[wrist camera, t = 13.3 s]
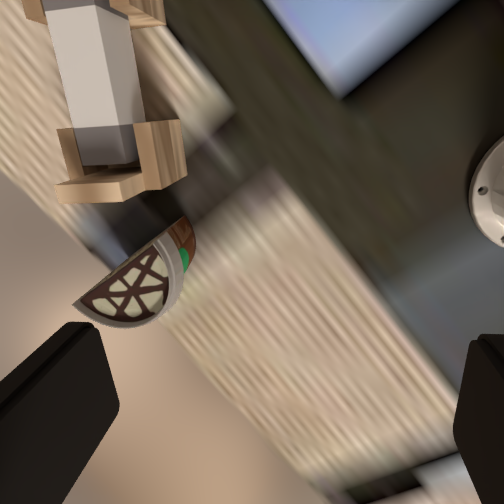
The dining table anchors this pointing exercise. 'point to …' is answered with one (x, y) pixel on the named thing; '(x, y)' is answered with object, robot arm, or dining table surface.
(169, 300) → the food container
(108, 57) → the bed rail
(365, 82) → the dining table surface
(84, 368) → the robot arm
